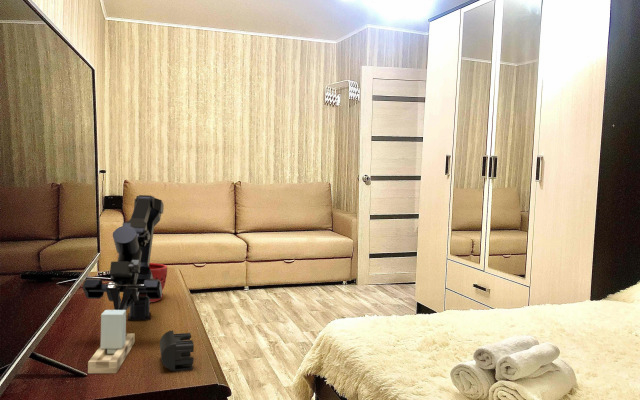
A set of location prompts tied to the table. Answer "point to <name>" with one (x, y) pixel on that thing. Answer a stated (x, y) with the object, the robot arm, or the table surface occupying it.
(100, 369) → the beam
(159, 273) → the plant pot
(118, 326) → the block
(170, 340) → the end cap
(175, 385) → the table surface
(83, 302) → the table surface
